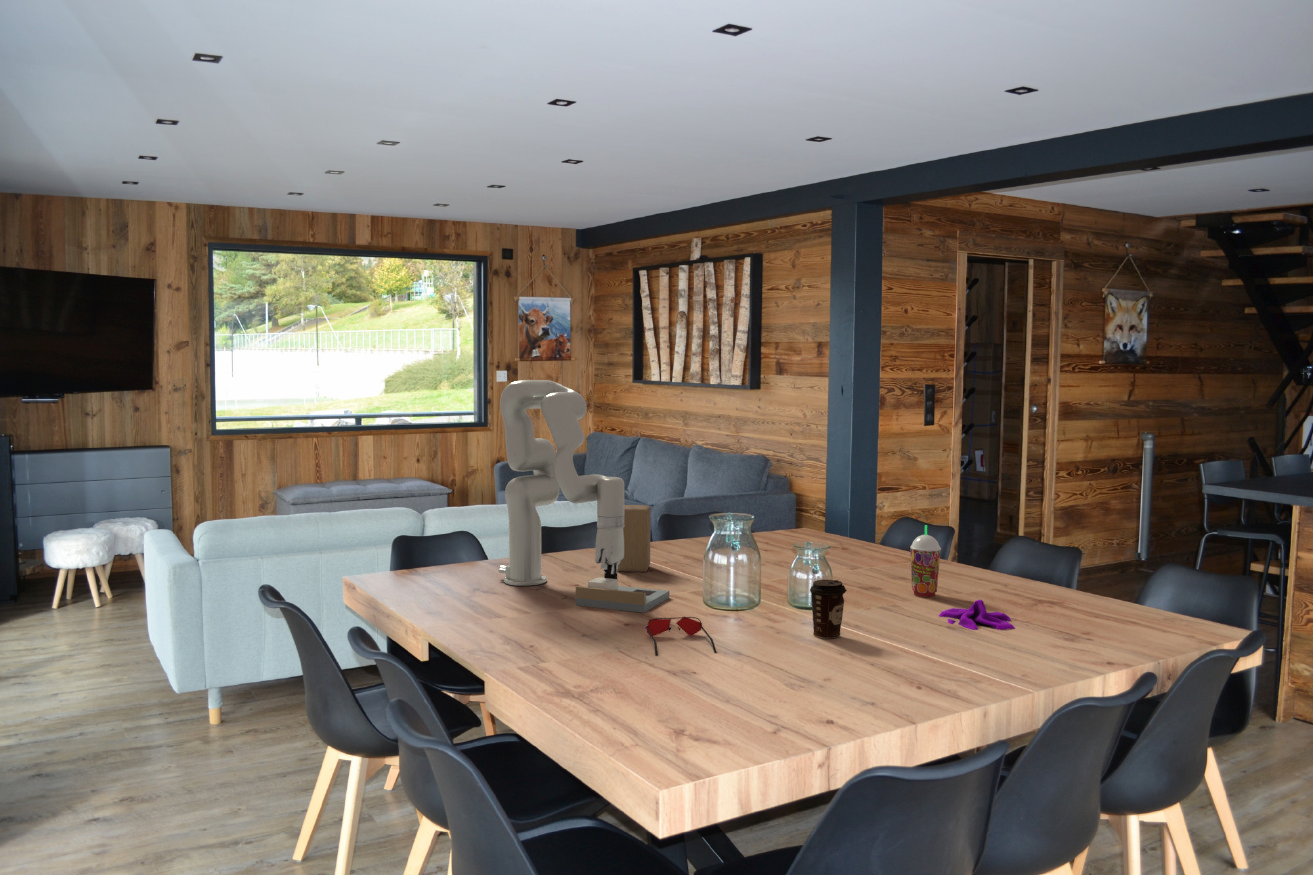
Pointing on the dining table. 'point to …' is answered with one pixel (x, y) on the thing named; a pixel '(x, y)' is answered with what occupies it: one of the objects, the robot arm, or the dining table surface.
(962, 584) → the dining table surface
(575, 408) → the robot arm
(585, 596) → the board
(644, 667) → the dining table surface
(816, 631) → the coffee cup
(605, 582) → the cream block
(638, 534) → the block
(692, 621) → the glasses
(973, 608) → the cloth
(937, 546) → the smoothie
